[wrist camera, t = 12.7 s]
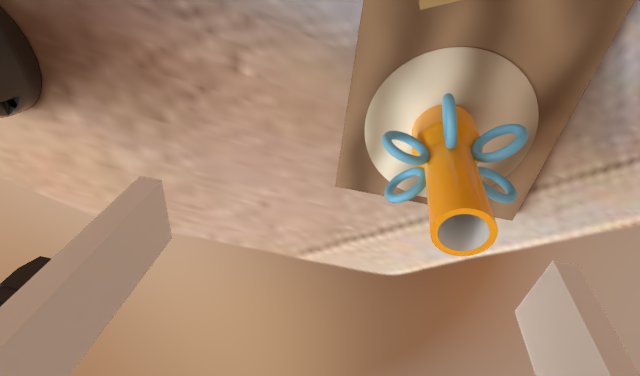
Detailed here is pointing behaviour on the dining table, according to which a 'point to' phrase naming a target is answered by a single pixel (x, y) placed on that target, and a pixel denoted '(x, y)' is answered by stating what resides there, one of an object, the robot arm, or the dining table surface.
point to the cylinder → (454, 175)
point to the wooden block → (433, 3)
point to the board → (471, 80)
